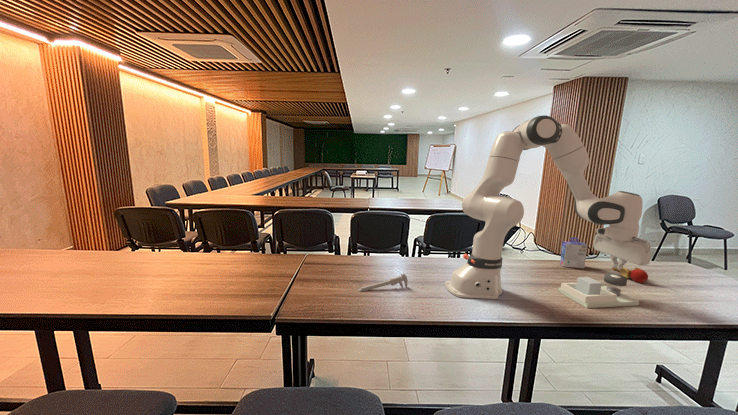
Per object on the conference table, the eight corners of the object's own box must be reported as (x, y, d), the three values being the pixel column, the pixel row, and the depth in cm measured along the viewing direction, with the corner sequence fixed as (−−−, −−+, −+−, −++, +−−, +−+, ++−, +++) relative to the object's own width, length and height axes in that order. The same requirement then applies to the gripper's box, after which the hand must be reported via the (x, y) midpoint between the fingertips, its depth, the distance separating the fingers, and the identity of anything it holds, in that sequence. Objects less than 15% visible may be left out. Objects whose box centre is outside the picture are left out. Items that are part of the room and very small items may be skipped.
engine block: (587, 298, 116) (590, 283, 115) (575, 291, 122) (577, 277, 121) (599, 298, 117) (601, 283, 116) (586, 291, 123) (588, 277, 122)
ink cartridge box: (580, 265, 158) (583, 237, 156) (585, 268, 153) (589, 240, 150) (558, 263, 160) (562, 236, 158) (563, 267, 155) (567, 239, 152)
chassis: (586, 307, 112) (588, 297, 111) (558, 291, 126) (559, 282, 125) (638, 305, 115) (640, 295, 115) (605, 289, 129) (606, 280, 128)
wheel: (615, 286, 117) (616, 280, 116) (599, 279, 123) (600, 273, 123) (631, 286, 118) (632, 279, 117) (614, 278, 124) (615, 272, 124)
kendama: (604, 272, 153) (633, 281, 135) (607, 259, 153) (636, 267, 135) (620, 275, 152) (651, 286, 134) (623, 263, 152) (655, 272, 134)
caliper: (406, 286, 127) (406, 272, 126) (407, 288, 126) (407, 273, 125) (357, 291, 122) (358, 275, 121) (358, 292, 121) (358, 277, 120)
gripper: (658, 241, 108) (651, 278, 110) (606, 227, 128) (601, 259, 130) (643, 241, 107) (636, 279, 109) (592, 227, 127) (588, 259, 129)
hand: (617, 268), depth 120 cm, fingers closed
